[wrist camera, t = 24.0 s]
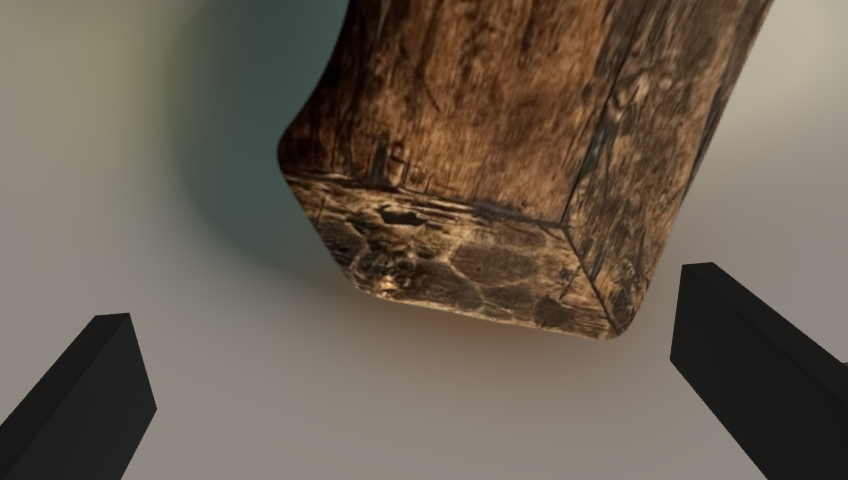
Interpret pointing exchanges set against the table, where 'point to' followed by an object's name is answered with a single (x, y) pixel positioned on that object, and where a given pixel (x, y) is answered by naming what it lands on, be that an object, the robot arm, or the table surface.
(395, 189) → the table surface
